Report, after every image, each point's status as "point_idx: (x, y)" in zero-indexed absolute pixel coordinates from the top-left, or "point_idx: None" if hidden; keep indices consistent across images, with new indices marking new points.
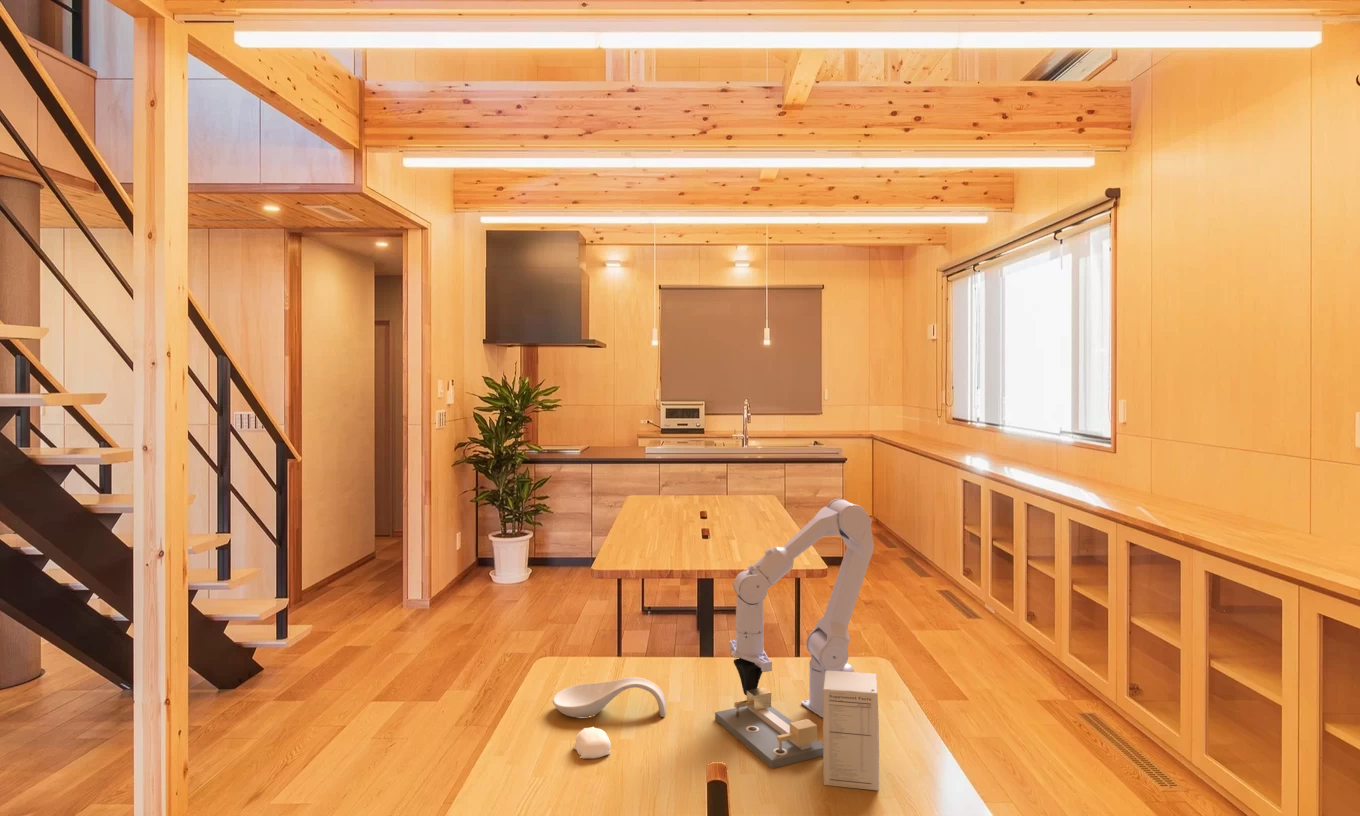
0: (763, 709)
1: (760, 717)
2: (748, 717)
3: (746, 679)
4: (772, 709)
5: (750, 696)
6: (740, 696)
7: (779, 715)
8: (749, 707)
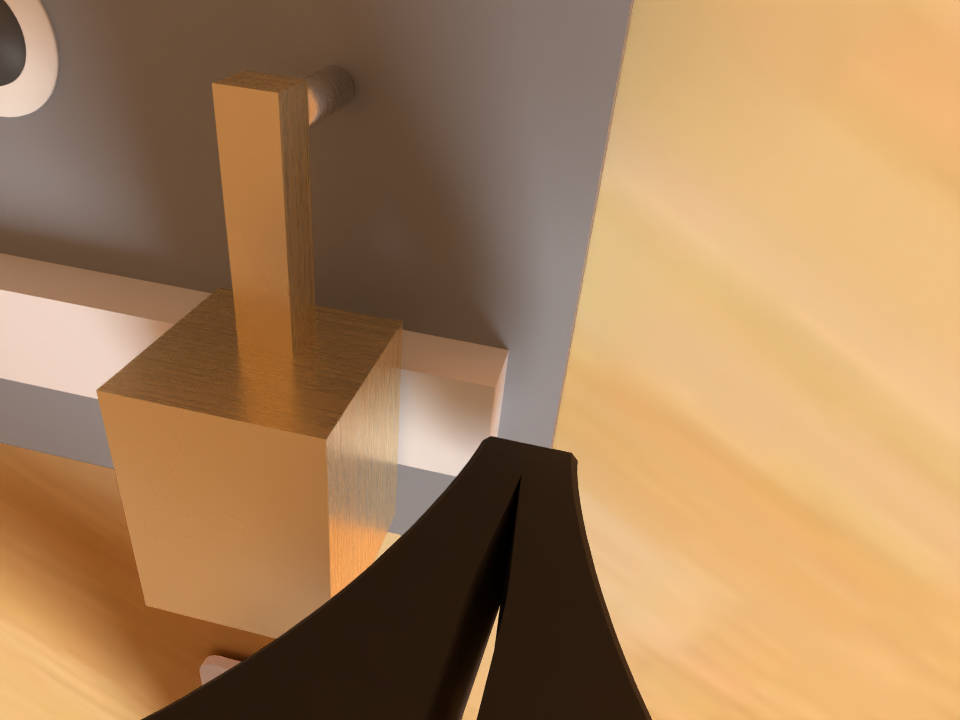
0: None
1: None
2: None
3: (323, 604)
4: None
5: (238, 384)
6: (947, 541)
7: None
8: (452, 353)
